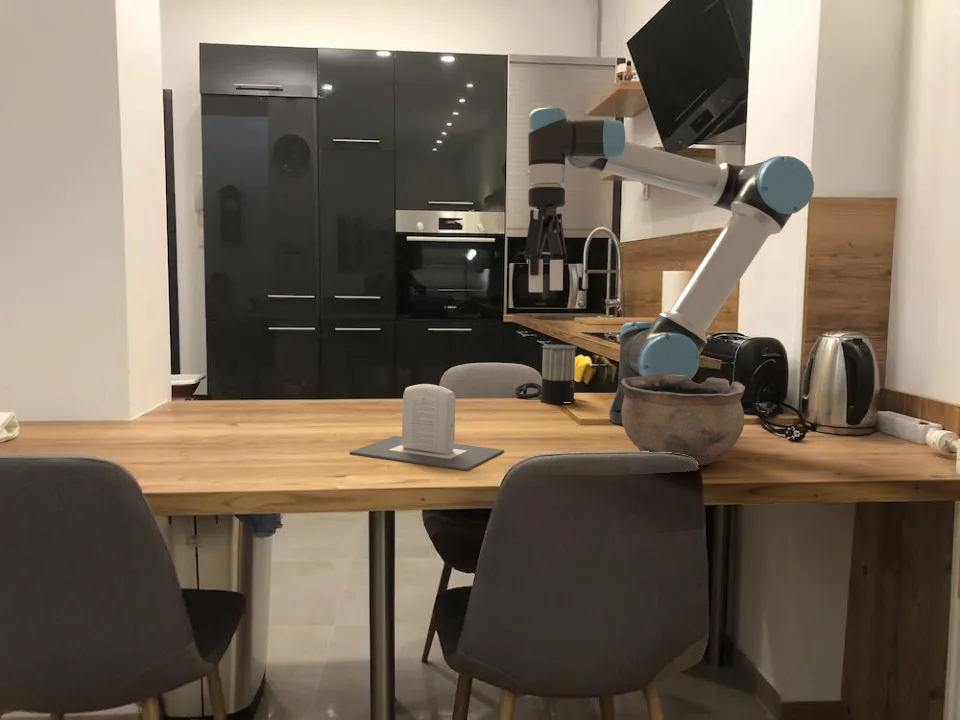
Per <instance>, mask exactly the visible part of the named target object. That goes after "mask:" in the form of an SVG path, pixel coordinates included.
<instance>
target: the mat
mask: <svg viewBox="0 0 960 720" xmlns="http://www.w3.org/2000/svg"><path fill="white" fill-rule="evenodd" d="M504 452H505V450H504V449H500V448H493V447H491V448H490V447H484V446H478V445H475V446H474V445H468V444H462V443H454V449H453V452H452V453H450V454H441V453H435V452H429V451H422V450H415V449H409V448H403V447H402V436H398V435H393V436H391V437H388V438H384V439H382V440H380V441H376V442H374V443H371V444H368V445H365V446H362V447H359V448H357V449H353V450H351V451H349V454H350V455H356V456H361V457H362V456H363V457H367V458H368V457H369V458H376V459H383V460H390V461H397V462H404V463H413V464H417V465H423V466H431V467H439V468H446V469H451V470H453V469H454V470H457V471H458V470H459V471H469V470H472V469H473V468H475V467H478V466H479V465H481V464H483V463H485V462H487V461H489V460H491V459H493V458H496V457H497V456H498V455H501V454H503V453H504Z"/></svg>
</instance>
